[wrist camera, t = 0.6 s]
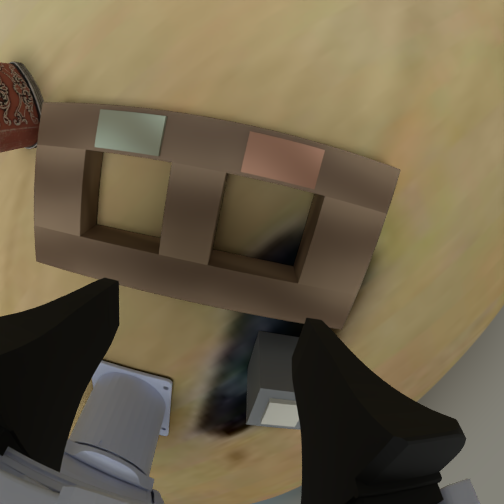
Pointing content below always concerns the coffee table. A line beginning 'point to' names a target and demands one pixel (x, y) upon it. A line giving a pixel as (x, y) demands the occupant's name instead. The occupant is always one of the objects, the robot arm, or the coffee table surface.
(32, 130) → the lighter
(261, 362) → the plug
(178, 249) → the socket board
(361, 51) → the coffee table surface
